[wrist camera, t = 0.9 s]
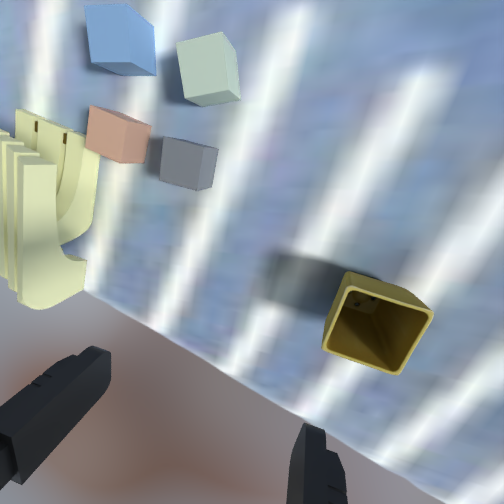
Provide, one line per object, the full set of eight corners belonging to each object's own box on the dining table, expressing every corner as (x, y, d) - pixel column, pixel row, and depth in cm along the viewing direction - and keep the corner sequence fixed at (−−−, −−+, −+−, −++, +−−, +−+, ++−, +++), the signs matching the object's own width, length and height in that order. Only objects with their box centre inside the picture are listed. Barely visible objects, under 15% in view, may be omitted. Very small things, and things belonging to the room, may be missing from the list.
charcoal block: (183, 139, 35) (163, 136, 30) (218, 149, 34) (203, 146, 29) (178, 177, 36) (159, 180, 32) (212, 187, 36) (197, 190, 31)
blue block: (117, 28, 32) (83, 5, 27) (154, 27, 31) (126, 3, 26) (121, 75, 34) (91, 62, 29) (156, 76, 33) (131, 62, 28)
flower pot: (318, 309, 38) (319, 350, 30) (339, 255, 35) (347, 285, 27) (379, 329, 37) (398, 377, 29) (406, 275, 34) (437, 312, 26)
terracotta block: (119, 112, 35) (90, 104, 31) (151, 126, 35) (127, 121, 30) (113, 149, 37) (85, 147, 33) (144, 163, 37) (120, 163, 32)
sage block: (195, 60, 31) (175, 43, 27) (236, 51, 30) (222, 31, 25) (202, 107, 33) (184, 98, 28) (241, 100, 32) (228, 89, 27)
